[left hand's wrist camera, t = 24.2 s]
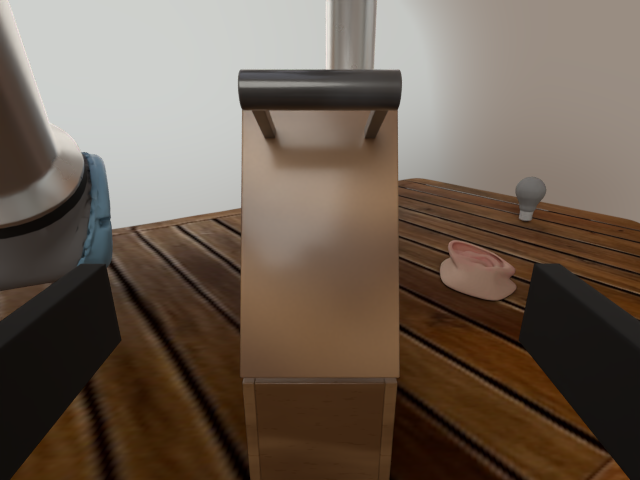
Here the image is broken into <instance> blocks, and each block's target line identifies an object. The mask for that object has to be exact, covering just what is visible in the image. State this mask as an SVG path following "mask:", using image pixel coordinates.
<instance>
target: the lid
mask: <svg viewBox="0 0 640 480" xmlns="http://www.w3.org/2000/svg"><path fill="white" fill-rule="evenodd" d="M401 91H402V77H401V72H400V70H398V69H241V70H240V71H239V75H238V94H239V101H240V105H241V108H242V189H241V190H242V191H241V192H242V193H241V314H240V377H241V378H399V377H400V365H399V232H398V107H399V105H400V100H401Z"/></svg>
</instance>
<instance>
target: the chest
mask: <svg viewBox="0 0 640 480" xmlns="http://www.w3.org/2000/svg"><path fill="white" fill-rule="evenodd" d="M242 384H243V396H244V409H245V421H246V433H247V445H248V457H249V469H250V480H389V477H390V465H391V453H392V441H393V429H394V417H395V405H396V393H397V380H396V378H244V379H243V383H242Z"/></svg>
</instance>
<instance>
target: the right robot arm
mask: <svg viewBox="0 0 640 480" xmlns="http://www.w3.org/2000/svg"><path fill="white" fill-rule="evenodd" d="M376 9H377V0H326V69H374V53H375V31H376Z"/></svg>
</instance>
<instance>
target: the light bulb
mask: <svg viewBox="0 0 640 480" xmlns="http://www.w3.org/2000/svg"><path fill="white" fill-rule="evenodd" d="M545 193H546V186H545V184H544V183H543V181H542V180H541V179H539V178H536V177H527V178H525V179H523V180H521V181H520V182H519V183H518V185H517V186H516V196H517V199H518V201H519V208H520V215H519V219H521V220H522V221H530V220H532V217H531V216H532V214H533V211H534V210H535V209H536V206H537V204H538V203H539V202H540V201H541V200H542V199H543V197H544V196H545Z"/></svg>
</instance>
